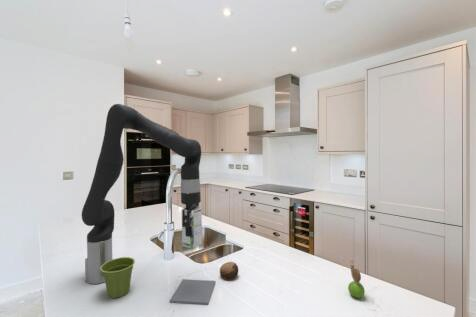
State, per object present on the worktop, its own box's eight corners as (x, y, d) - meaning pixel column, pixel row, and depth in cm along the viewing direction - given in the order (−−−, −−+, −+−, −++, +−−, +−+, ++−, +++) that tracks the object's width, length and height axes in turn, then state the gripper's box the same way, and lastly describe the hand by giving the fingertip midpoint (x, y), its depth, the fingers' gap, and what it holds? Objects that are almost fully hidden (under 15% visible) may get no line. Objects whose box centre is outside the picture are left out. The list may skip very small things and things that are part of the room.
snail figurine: (357, 290, 89) (358, 259, 89) (367, 301, 83) (368, 268, 83) (344, 290, 89) (344, 260, 89) (353, 301, 83) (353, 268, 83)
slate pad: (169, 302, 82) (169, 300, 82) (182, 281, 96) (182, 279, 96) (208, 305, 81) (208, 302, 81) (215, 282, 95) (215, 280, 95)
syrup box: (181, 246, 89) (180, 208, 88) (192, 241, 94) (191, 205, 93) (192, 249, 86) (191, 210, 85) (203, 243, 90) (201, 207, 90)
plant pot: (110, 284, 94) (109, 257, 94) (139, 283, 95) (139, 256, 95) (94, 303, 82) (93, 272, 82) (128, 302, 83) (127, 271, 83)
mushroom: (230, 262, 106) (228, 255, 102) (242, 273, 102) (241, 266, 98) (217, 275, 102) (215, 268, 98) (229, 288, 97) (228, 281, 94)
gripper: (186, 188, 97) (188, 226, 97) (174, 193, 82) (176, 239, 83) (204, 187, 96) (205, 226, 96) (195, 193, 82) (196, 239, 82)
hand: (191, 232), depth 89 cm, fingers closed on syrup box, 7 cm apart
